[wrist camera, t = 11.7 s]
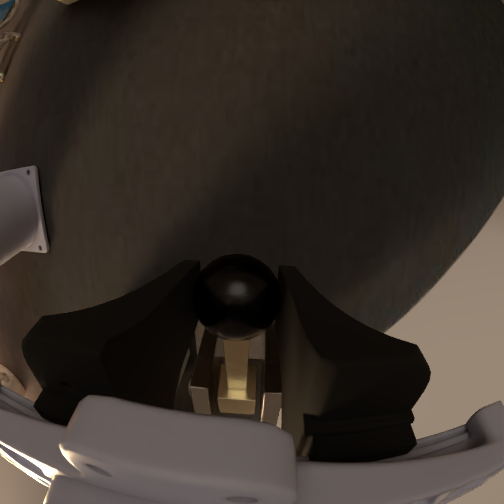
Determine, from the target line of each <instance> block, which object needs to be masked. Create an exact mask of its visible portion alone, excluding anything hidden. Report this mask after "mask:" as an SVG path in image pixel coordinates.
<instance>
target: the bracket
mask: <svg viewBox="0 0 504 504" xmlns="http://www.w3.org/2000/svg"><path fill="white" fill-rule="evenodd" d="M195 340H196V349H197V354H198V356H197V360H196V363H195V367H194V371H193V375H191V376H190V379H189V384H188V393H189V395H190V396H191V397H192V402H193V407H194V412H195V413H201V414H209V415H214V411H215V405H216V399H217V392H218V383H219V375H220V367H221V363H222V361H223V357H224V346H223V339H221V338H219V337H217V336H215V335H213V334H212V333H210V332H209V331H208V330H207V329H206V328H205V327H204V326H203V325H202V324H201V322H200V321H199V320H198V324H197V327H196V330H195ZM249 358H250V359H261V378H260V421H264V422H269V423H271V424H273V425H275V426H276V424H277V420H278V416H279V411H280V407H281V403H282V383H281V369H280V362H279V355H278V348H277V340H276V333H275V320H274V322H273V323H272V325H271V326H270V327H269V328H268V329H267V330H266V331H265V332H263V333H262V334H260V335H259V336H257V337H255V338H252V339H250V342H249Z"/></svg>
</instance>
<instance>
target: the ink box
mask: <svg viewBox="0 0 504 504" xmlns="http://www.w3.org/2000/svg"><path fill="white" fill-rule="evenodd" d="M14 2H15V0H0V21H1V20H2V19H3V21H4V19H5V17H6V16H7V14H8V12H9V11H10V9H11V7H12V6H13V4H14ZM3 21H2V22H3Z"/></svg>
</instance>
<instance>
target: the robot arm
mask: <svg viewBox="0 0 504 504" xmlns="http://www.w3.org/2000/svg"><path fill="white" fill-rule="evenodd" d="M29 170H30V172H29ZM20 251H31V252H42V253H46V252H48V251H49V243H48V238H47V233H46V228H45V222H44V217H43V210H42V203H41V196H40V188H39V178H38V169H37V167H36V166H28V167H23V168H18V169H13V170H8V171H3V172H0V266H1V265H2V264H4V263H5V262H6V261H8V260H9V259H10V258H12V257H13V256H15V255H16V254H17V253H19V252H20ZM199 274H200V261H194V260H184V261H182V262H181V263H179V264H177V265H176V266H174V267H173V268H171V269H170V270H168V271H167V272H165V273H164V274H162V275H161V276H159V277H158V278H156V279H154V280H152V281H151V282H149V283H147V284H146V285H144V286H142V287H140V288H139V289H137V290H135V291H133V292H131V293H128V294H126V295H124V296H122V297H119V298H117V299H114V300H112V301H109V302H106V303H103V304H100V305H97V306H94V307H90V308H87V309H83V310H78V311H74V312H69V313H62V314H55V315H48V316H42V317H41V318H40V319H39V321H38V322H37V323H36V324H35V325H34V326H33V328H32V329H31V330H30V331H29V332H28V334H27V335H26V336H25V337H24V338H23V340H22V351H23V355H24V358H25V360H26V362H27V364H28V366H29V367H30V369H31V371H32V373H33V374H34V376H35V378H36V379H37V381H38V382H39V384H40V386H41V387H42V389H43V390H42V392H41V394H40V395H39V397H38V399H37V400H36V402H33V401H31V400H29V399H27V398H25V397H23V396H21V395H19V394H17V393H15V392H14V391H12V390H10V389H8V388H6V387H5V386H3V385H1V382H0V455H1V456H3V457H4V458H5V459H7V460H8V461H9V462H11V463H12V464H13V465H15V466H16V467H18V468H19V469H21V470H22V471H23V472H25V473H26V474H28V475H30V476H31V477H33V478H34V479H36V480H37V481H39V482H41V483H42V484H44V485H46V486H47V487H49V490H48V492H47V495H46V498H45V500H44V503H43V504H446V503H448V502H450V501H452V500H454V499H456V498H458V497H460V496H462V495H464V494H466V493H468V492H470V491H472V490H474V489H475V488H477V487H479V486H481V485H482V484H484V483H485V482H487V481H488V480H489V479H491V478H492V477H494V476H495V475H496V474H498V473H499V472H500V471H501V470H503V469H504V406H503V404H502V402H501V401H497V402H495V403H493V404H490V405H488V406H485V407H483V408H481V409H479V410H478V411H477V412H475V413H474V414H473V415H472V416H471V418H470V419H469V420H468V421H467V423H466V424H465V425H462V426H459V427H456V428H453V429H450V430H448V431H444V432H441V433H438V434H435V435H431V436H428V437H424V438H420V439H417V440H416V438H415V435H414V432H413V430H412V427H411V423H413V421H414V415H413V413H412V410H411V409H412V408H413V406H414V405H415V404H416V402H417V401H418V399H419V398H420V396H421V395H422V393H423V392H424V390H425V388H426V387H427V385H428V383H429V381H430V374H431V372H430V368H429V366H428V363H427V362H426V360H425V358H424V357H423V354H422V353H421V351H420V349H419V347H418V346H417V345H416V344H413V343H409V342H406V341H403V340H400V339H396V338H394V337H391V336H388V335H386V334H384V333H381V332H379V331H377V330H374V329H372V328H370V327H368V326H366V325H364V324H363V323H361V322H359V321H357V320H355V319H354V318H352V317H350V316H349V315H347V314H346V313H344V312H343V311H341V310H340V309H339V308H337V307H336V306H334V305H333V304H332V303H331V302H329V301H328V300H327V299H326V298H325V297H324V296H323V295H321V294H320V293H319V292H318V291H317V290H316V289H315V288H314V287H313V286H312V285H311V284H310V283H309V282H308V281H307V280H306V279H305V277H304V276H303V275H302V274H301V273H300V272H299V271H298V270H297V268H296V267H295V266H280V265H279V272H278V284H279V287H280V308H279V312H278V314H277V316H276V318H275V333H276V340H277V348H278V355H279V362H280V369H281V383H282V429H280V428H279V427H277V426H275V425H273V424H271V423H269V422H264V421H258V420H252V419H247V418H242V417H230V416H219V415H209V414H201V413H193V412H186V411H179V410H173V407H174V402H175V396H176V391H177V386H178V382H179V377H180V373H181V369H182V366H183V363H184V360H185V357H186V354H187V352H188V349H189V346H190V343H191V341H192V338H193V335H194V332H195V330H196V327H197V324H198V320H199V319H198V317H197V315H196V313H195V310H194V306H193V289H194V285H195V282H196V279H197V277H198V276H199Z"/></svg>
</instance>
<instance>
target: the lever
mask: <svg viewBox="0 0 504 504" xmlns="http://www.w3.org/2000/svg"><path fill="white" fill-rule="evenodd" d="M193 306H194V310H195V313H196V315H197V317H198V319H199V321H200V322H201V324H202V325H203V326H204V327H205V328H206V329H207V330H208V331H209V332H210V333H212V334H213V335H215V336H217V337H219V338H221V339H223V346H224V357H225V363H221V367H220V375H219V383H218V392H217V401H218V405H219V410H220V412H226V413H239V414H254V410H255V403H256V387H257V365H248V360H249V342H250V339H252V338H255V337H257V336H259V335H260V334H262V333H263V332H265V331H266V330H267V329H268V328H269V327H270V326H271V325H272V323H273V322H274V320H275V318H276V316H277V314H278V312H279V308H280V287H279V284H278V281H277V279H276V277H275V275H274V274H273V272H272V271H271V270H270V268H269V267H268V266H267V265H266V264H264V263H263V262H261V261H260V260H258V259H257V258H254V257H252V256H249V255H245V254H228V255H224V256H221V257H219V258H217V259H215V260H213V261H211V262H210V263H209V264H208V265H206V266H205V268H204V269H203V270H202V271H201V272H200V274H199V276H198V277H197V279H196V282H195V285H194V289H193Z"/></svg>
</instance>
